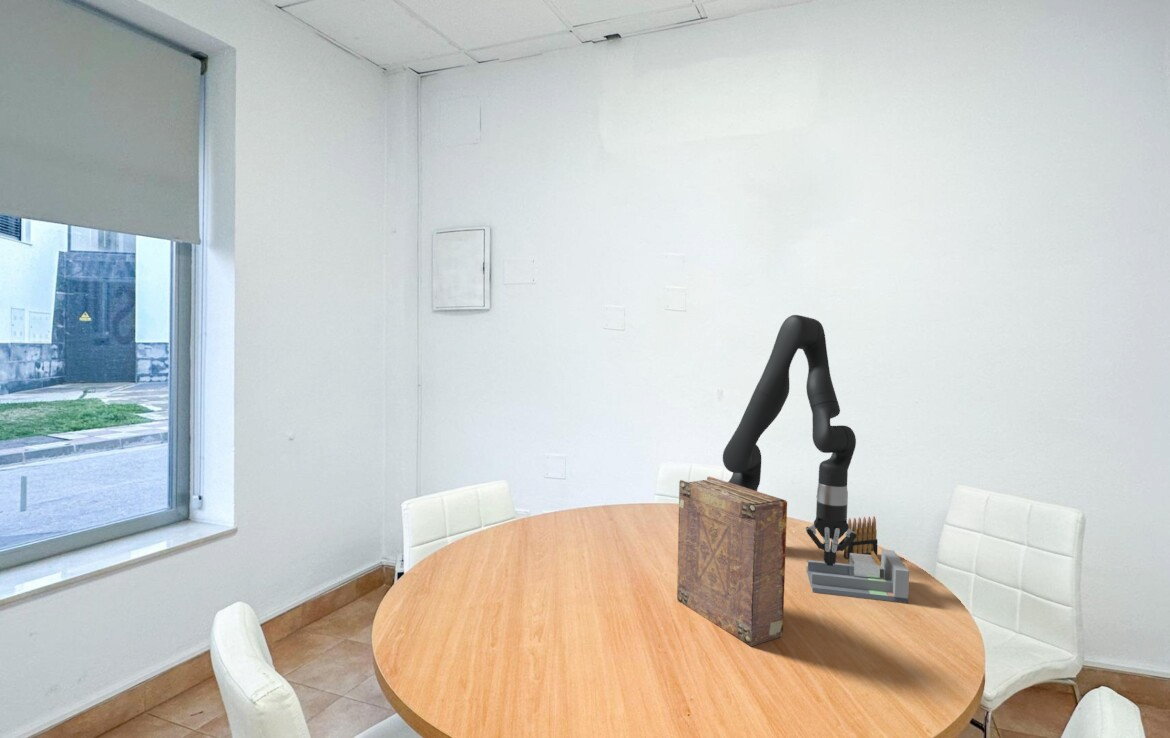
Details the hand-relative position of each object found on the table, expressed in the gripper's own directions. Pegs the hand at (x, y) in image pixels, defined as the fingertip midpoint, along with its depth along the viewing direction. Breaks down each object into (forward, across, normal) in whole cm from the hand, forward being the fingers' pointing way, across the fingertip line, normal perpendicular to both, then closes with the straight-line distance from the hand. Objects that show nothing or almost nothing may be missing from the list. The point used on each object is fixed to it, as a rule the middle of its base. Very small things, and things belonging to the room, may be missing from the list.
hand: (829, 564), depth 155 cm
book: (+5, -26, -28) cm, 39 cm away
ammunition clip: (+5, +12, +23) cm, 27 cm away
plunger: (+3, +8, -1) cm, 9 cm away
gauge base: (+5, +6, 0) cm, 8 cm away
